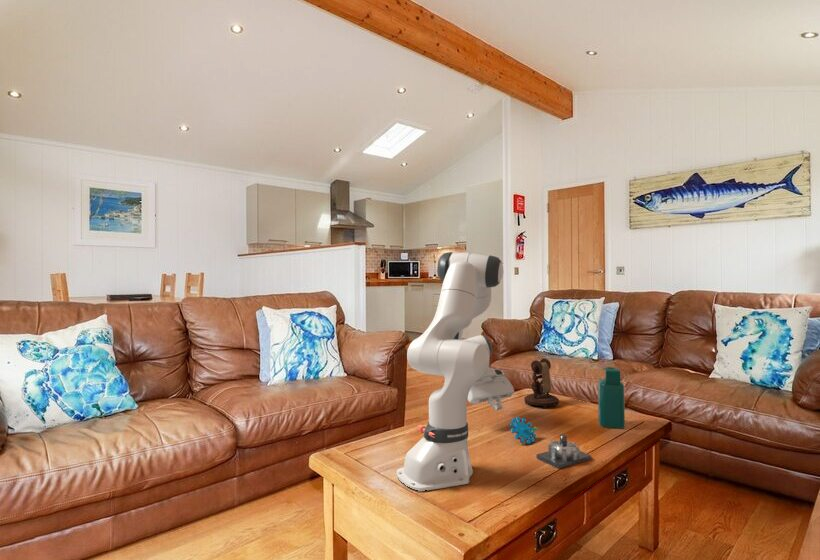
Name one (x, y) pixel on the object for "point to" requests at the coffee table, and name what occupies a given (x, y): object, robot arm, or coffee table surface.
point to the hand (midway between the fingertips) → (499, 409)
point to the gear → (523, 430)
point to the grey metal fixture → (563, 453)
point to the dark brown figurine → (541, 385)
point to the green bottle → (611, 399)
